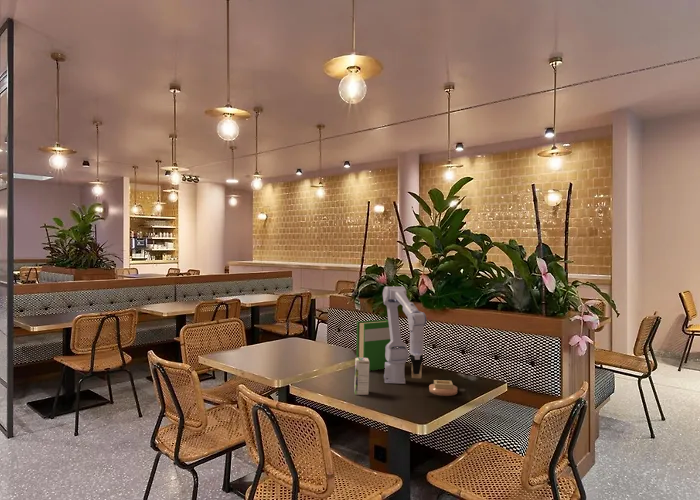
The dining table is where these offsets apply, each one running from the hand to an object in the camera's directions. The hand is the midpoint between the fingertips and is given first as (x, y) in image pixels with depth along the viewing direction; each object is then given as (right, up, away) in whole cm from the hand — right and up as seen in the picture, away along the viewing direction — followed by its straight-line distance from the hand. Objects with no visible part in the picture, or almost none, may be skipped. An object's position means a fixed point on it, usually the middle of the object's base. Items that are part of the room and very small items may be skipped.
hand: (416, 372), depth 202 cm
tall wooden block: (0, -2, 0) cm, 2 cm away
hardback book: (-15, -9, +43) cm, 47 cm away
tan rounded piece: (+12, -9, +4) cm, 16 cm away
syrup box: (-23, -9, 0) cm, 25 cm away
